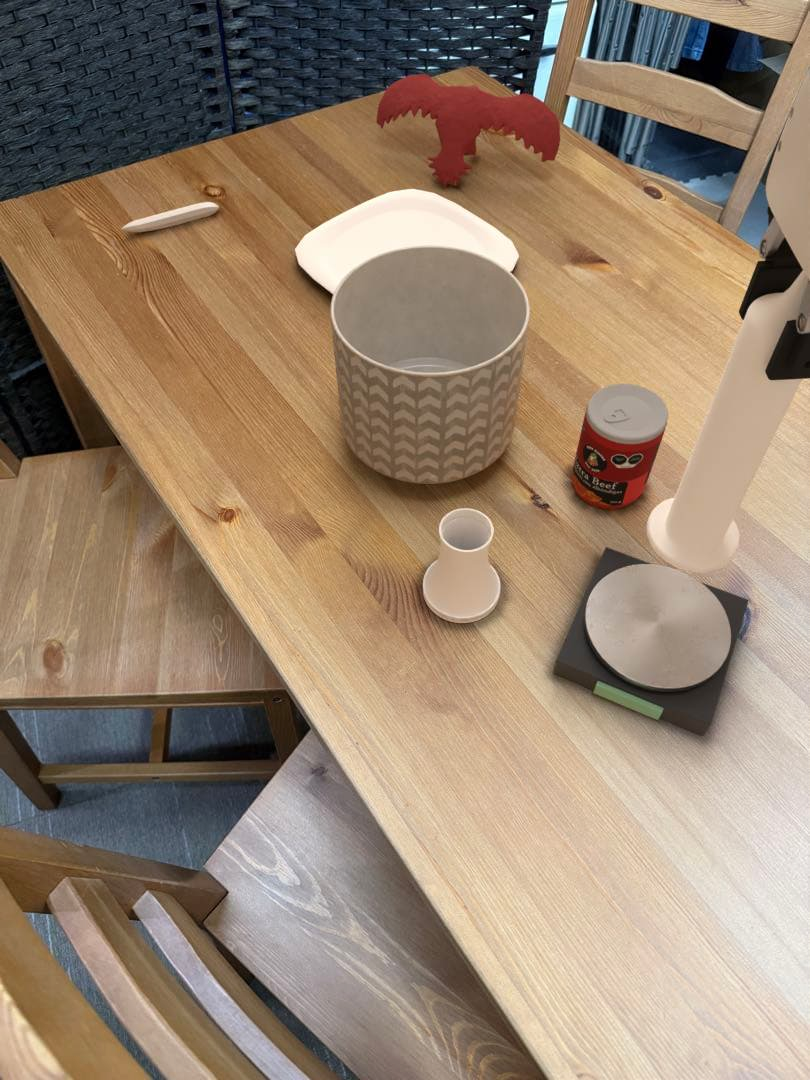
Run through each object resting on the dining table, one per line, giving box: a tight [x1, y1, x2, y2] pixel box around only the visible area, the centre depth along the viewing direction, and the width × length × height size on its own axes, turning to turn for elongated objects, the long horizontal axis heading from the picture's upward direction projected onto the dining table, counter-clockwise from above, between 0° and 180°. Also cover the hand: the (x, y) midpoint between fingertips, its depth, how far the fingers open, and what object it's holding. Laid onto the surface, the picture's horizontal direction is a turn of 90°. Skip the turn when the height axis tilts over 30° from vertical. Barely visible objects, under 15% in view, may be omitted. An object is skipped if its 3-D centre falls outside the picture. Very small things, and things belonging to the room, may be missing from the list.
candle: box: [645, 270, 808, 573], centre depth 57 cm, size 7×7×25 cm
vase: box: [422, 507, 501, 624], centre depth 80 cm, size 8×8×10 cm
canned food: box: [571, 383, 669, 510], centre depth 87 cm, size 8×8×11 cm
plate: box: [294, 188, 520, 296], centre depth 114 cm, size 25×25×2 cm
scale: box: [552, 546, 749, 737], centre depth 79 cm, size 14×14×4 cm
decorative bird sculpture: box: [375, 73, 561, 188], centre depth 125 cm, size 28×9×15 cm
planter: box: [329, 245, 531, 485], centre depth 89 cm, size 19×19×18 cm
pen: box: [120, 201, 220, 233], centre depth 119 cm, size 2×14×2 cm, turn 116°
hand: (778, 343), depth 51 cm, fingers closed on candle, 4 cm apart
